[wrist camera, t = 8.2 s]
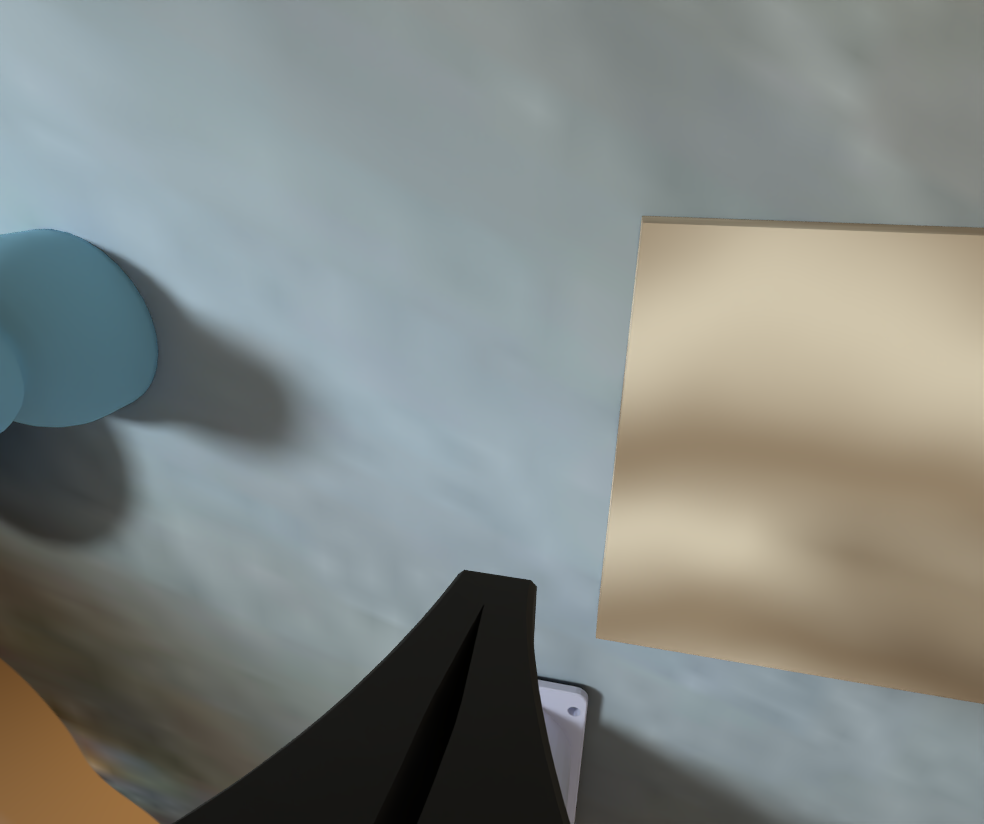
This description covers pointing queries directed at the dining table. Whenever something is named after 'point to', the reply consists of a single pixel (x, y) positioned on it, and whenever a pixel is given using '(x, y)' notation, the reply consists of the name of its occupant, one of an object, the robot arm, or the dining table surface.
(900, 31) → the dining table surface
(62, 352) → the light blue lumpy shape
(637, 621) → the ash board
